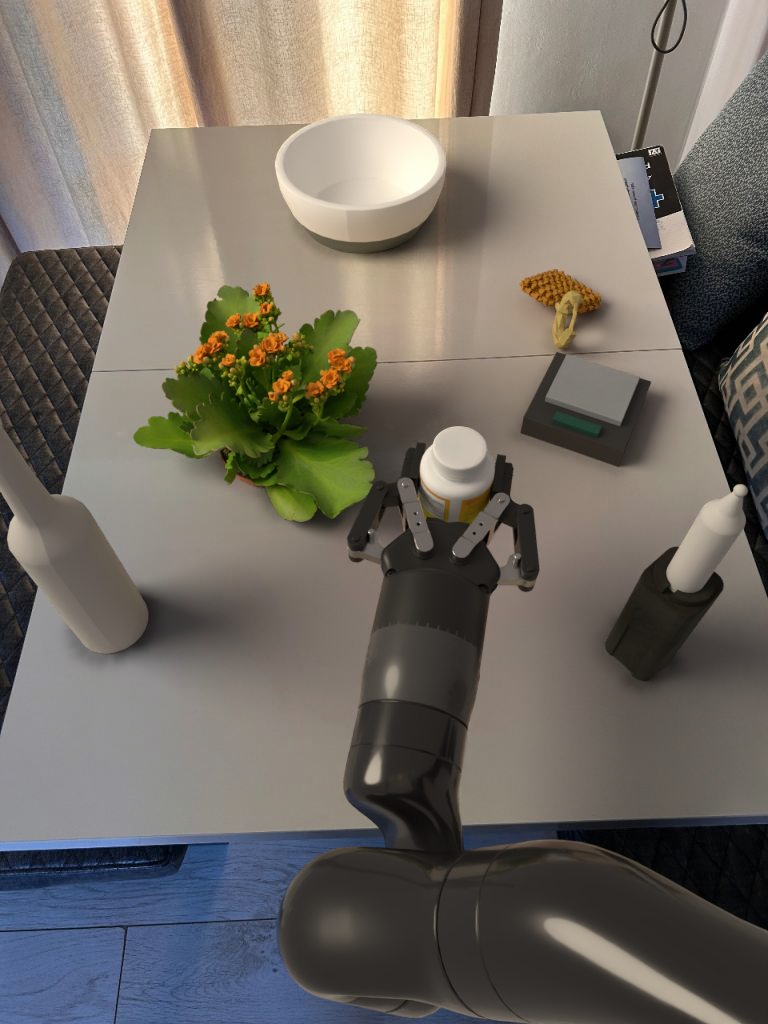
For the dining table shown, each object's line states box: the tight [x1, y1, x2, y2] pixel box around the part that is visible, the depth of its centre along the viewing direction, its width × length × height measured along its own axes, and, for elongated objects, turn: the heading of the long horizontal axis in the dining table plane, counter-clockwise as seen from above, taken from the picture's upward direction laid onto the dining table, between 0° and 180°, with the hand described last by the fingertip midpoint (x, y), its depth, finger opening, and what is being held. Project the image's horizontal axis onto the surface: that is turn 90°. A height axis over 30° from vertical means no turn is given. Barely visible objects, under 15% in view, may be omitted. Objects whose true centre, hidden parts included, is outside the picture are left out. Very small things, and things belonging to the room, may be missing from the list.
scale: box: [520, 351, 652, 467], centre depth 84 cm, size 11×11×3 cm
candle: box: [604, 483, 749, 682], centre depth 59 cm, size 5×5×25 cm
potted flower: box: [132, 281, 378, 523], centre depth 76 cm, size 25×24×18 cm
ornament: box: [519, 268, 602, 349], centre depth 92 cm, size 7×10×15 cm
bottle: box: [0, 417, 150, 655], centre depth 60 cm, size 7×7×28 cm
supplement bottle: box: [417, 425, 495, 526], centre depth 59 cm, size 6×6×10 cm
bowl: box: [274, 112, 448, 254], centre depth 103 cm, size 22×22×8 cm
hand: (460, 455), depth 59 cm, fingers closed on supplement bottle, 5 cm apart
